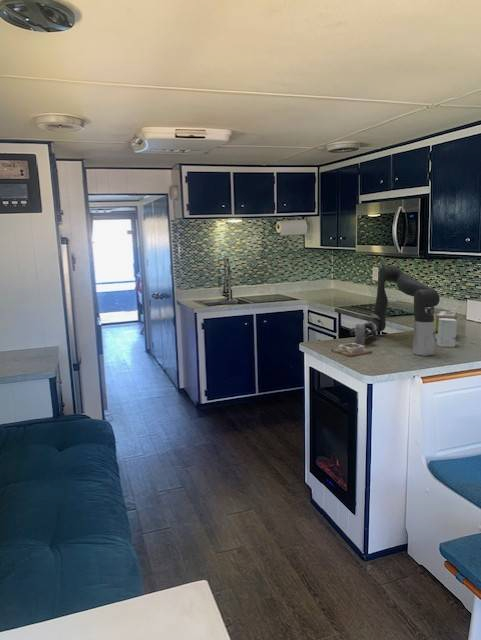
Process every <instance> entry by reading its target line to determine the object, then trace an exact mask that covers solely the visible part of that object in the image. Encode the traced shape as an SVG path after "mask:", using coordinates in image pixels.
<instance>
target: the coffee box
mask: <svg viewBox="0 0 481 640" xmlns="http://www.w3.org/2000/svg"><path fill="white" fill-rule="evenodd" d="M425 312H426V313H428V314H431V315H433V316H434V317H435V315H434V314H435V306H434V307H426V308H425Z"/></svg>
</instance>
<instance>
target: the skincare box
mask: <svg viewBox="0 0 481 640" xmlns="http://www.w3.org/2000/svg"><path fill="white" fill-rule="evenodd" d="M456 328H457V329H458V319H457V320H455V319H446V318H439V325H438V337H437V340H436V345H437V346H438V347H440V348H442V347H443V348H444V347H445V348H447V347H448V348H451V347H452V348H456V339H457V335H456Z"/></svg>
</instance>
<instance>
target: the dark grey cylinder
mask: <svg viewBox="0 0 481 640" xmlns="http://www.w3.org/2000/svg"><path fill="white" fill-rule="evenodd" d="M363 324H364V323H363ZM363 324H362V323H359V324H358V323H357V324H355V329H356V332H355V334H354V335H355V336H354V337H355V341H354V343H356V344H359V345H363V346H365V347H366V345H365V344H366V343H365V341H366V337H365V325H363Z"/></svg>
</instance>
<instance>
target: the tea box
mask: <svg viewBox="0 0 481 640" xmlns="http://www.w3.org/2000/svg"><path fill="white" fill-rule="evenodd" d="M439 318H446V319H455V320H457V321H458V311H450V310H449V311H448V310H447V311H446V310H445V311H443V310H439V312H438V313H437V314H436V316H435V340H436V341H437V337H438V325H439ZM457 329H458V327H457V328H456V336H457V333H458V331H457Z"/></svg>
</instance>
